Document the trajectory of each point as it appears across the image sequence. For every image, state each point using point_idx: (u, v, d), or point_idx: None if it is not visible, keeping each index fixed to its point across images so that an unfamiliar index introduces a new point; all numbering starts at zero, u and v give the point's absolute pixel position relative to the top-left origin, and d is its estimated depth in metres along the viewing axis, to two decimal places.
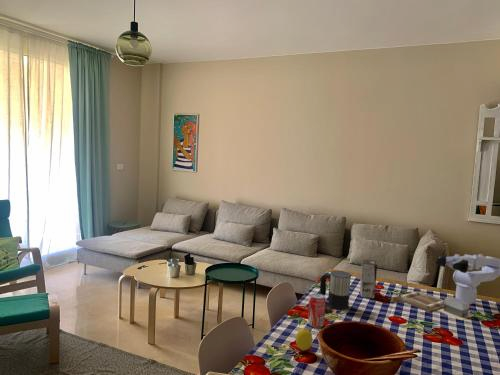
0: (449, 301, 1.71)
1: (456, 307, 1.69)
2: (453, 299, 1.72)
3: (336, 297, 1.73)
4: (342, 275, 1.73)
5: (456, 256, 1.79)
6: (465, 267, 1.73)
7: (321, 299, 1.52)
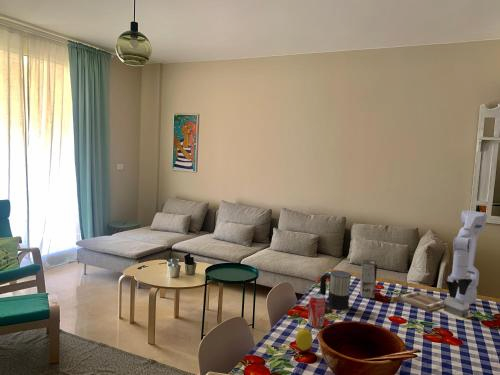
0: (449, 301, 1.71)
1: (456, 307, 1.69)
2: (453, 299, 1.72)
3: (336, 297, 1.73)
4: (342, 275, 1.73)
5: None
6: None
7: (321, 299, 1.52)
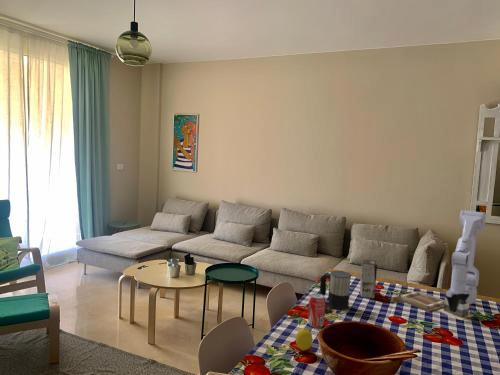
0: None
1: None
2: None
3: (336, 297, 1.73)
4: (342, 275, 1.73)
5: None
6: None
7: (321, 299, 1.52)
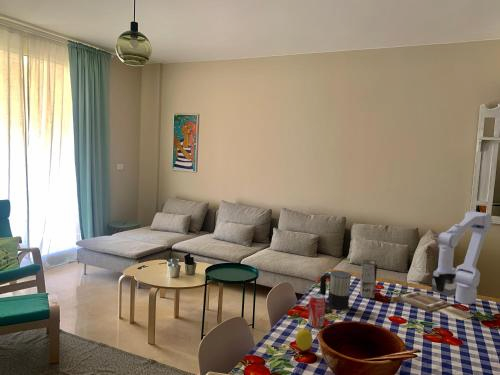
0: None
1: (443, 287, 1.73)
2: None
3: (335, 297, 1.73)
4: (342, 275, 1.73)
5: None
6: None
7: (321, 299, 1.52)
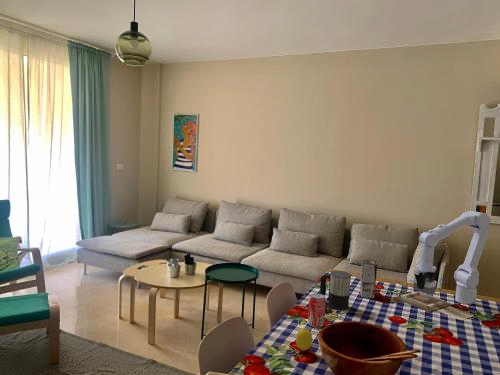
0: None
1: (424, 285, 1.80)
2: None
3: (336, 297, 1.73)
4: (342, 275, 1.73)
5: (431, 271, 1.79)
6: None
7: (321, 299, 1.52)
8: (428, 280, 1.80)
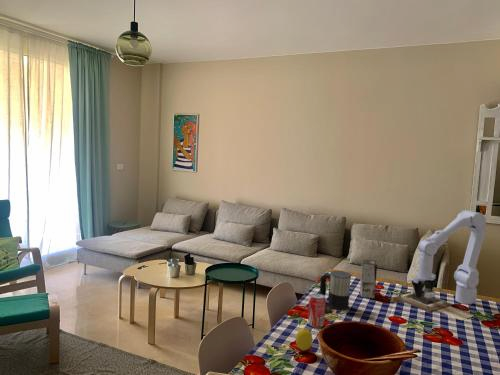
0: None
1: (423, 295, 1.80)
2: None
3: (335, 297, 1.72)
4: (342, 275, 1.73)
5: None
6: None
7: (321, 299, 1.52)
8: (427, 290, 1.81)
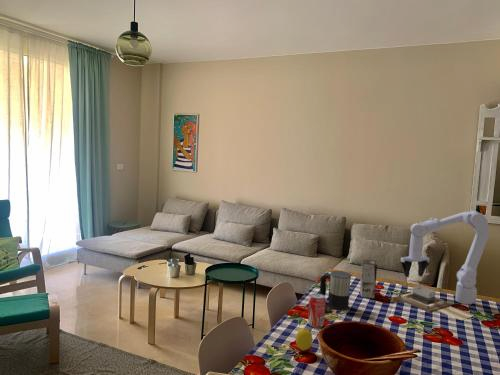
0: (417, 289, 1.83)
1: (423, 295, 1.80)
2: (421, 288, 1.84)
3: (335, 297, 1.72)
4: (342, 275, 1.73)
5: (419, 260, 1.88)
6: None
7: (321, 299, 1.52)
8: (427, 290, 1.81)
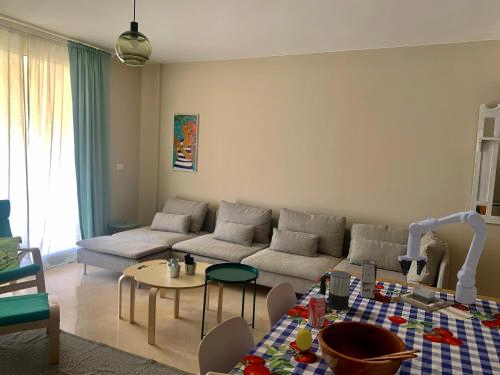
0: (417, 289, 1.83)
1: (423, 295, 1.80)
2: (421, 288, 1.84)
3: (335, 297, 1.72)
4: (342, 275, 1.73)
5: (416, 259, 1.90)
6: None
7: (321, 299, 1.52)
8: (427, 290, 1.81)
